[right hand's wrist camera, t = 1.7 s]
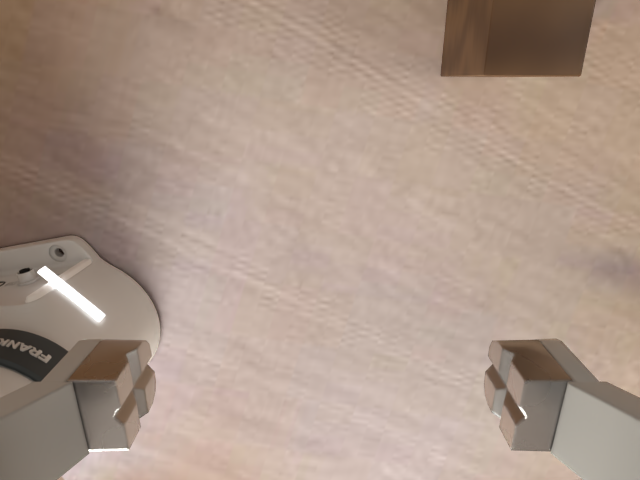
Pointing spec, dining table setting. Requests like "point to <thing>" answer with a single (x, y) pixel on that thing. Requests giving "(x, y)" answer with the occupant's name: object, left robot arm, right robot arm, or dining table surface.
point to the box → (516, 38)
